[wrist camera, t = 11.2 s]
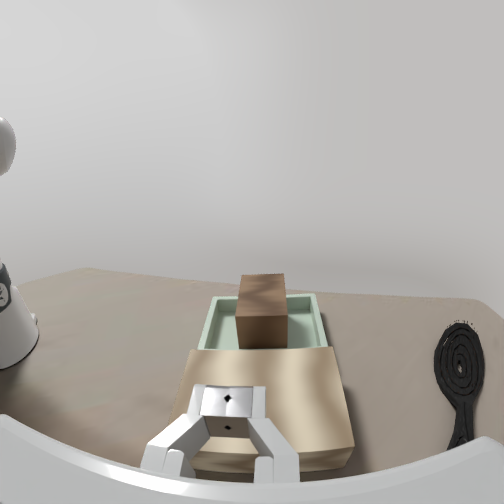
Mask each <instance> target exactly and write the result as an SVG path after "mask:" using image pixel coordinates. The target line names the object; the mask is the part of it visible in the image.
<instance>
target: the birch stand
mask: <svg viewBox="0 0 504 504" xmlns="http://www.w3.org/2000/svg"><path fill="white" fill-rule="evenodd" d="M195 384H203V385H216V386H266V418H269V419H270V420H271V421H272V423H273V424H274V425H275V426H276V428H277V429H278V430H279V432H280V433H281V434H282V435H283V437H284V438H285V439H286V440H287V442H288V443H289V444H290V445H291V446H292V448H293V449H294V450H295V451H296V452H297V454H298V455H299V472H310V471H320V470H329V469H337V468H344V466H345V464H346V463H347V461H348V459H349V457H350V455H351V453H352V451H353V449H354V447H355V444H354V439H353V434H352V429H351V424H350V419H349V414H348V410H347V405H346V400H345V396H344V392H343V387H342V383H341V379H340V374H339V370H338V366H337V362H336V358H335V354H334V350H333V346H330V347H316V348H300V349H279V350H196V349H191V350H190V353H189V357H188V360H187V363H186V366H185V369H184V373H183V376H182V379H181V382H180V386H179V389H178V392H177V396H176V399H175V402H174V406H173V409H172V412H171V416H170V419H169V423H168V426H169V425H171V424H172V423H173V422H174V421H175V420H177V419H178V418H179V417H180V416H181V415H182V414H187V410H188V406H189V402H190V398H191V394H192V390H193V387H194V385H195ZM168 426H167V427H168ZM258 457H261V456H260V455H259V453H258V452H257V450H256V448H255V447H254V445H253V444H252V442H251V440H250V439H245V438H229V437H210V439H209V440H208V441H207V442H206V443H205V445H204V446H203V447H202V448H201V449H200V450H199V451H198V452H197V453H196V455H195V456H194V457H193V458H192V459H191V460H190V461H189V463H190V465H191V466H192V468H193V469H196V470H205V471H215V472H229V473H254V472H255V459H256V458H258Z"/></svg>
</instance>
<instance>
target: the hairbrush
mask: <svg viewBox="0 0 504 504" xmlns="http://www.w3.org/2000/svg"><path fill="white" fill-rule="evenodd" d="M456 321H457V320H456ZM458 321H459V320H458ZM454 322H455V321H454ZM467 323H468V321H467ZM471 324H472V323H471ZM449 326H450V327H449V328H448V327H447V329H446V330H445V331H444V333H443V335H442V337H441V339H440V340H439V343H438V345H437V347H436V350H435V354H434V372H435V376H436V380H437V383H438V385H439V387H441V388H440V390H441V389H442V390H443V391H444V392H443V391H442V390H441V391H442V393H443V394H444V395H445V396H446V397H447V398H448V399H449V400H450V402H451V403H452V404H453V405H454V406H455V407H456V408H457V411H456V419H455V426H454V432H453V435H452V438H451V440H450V443H449V446H448V448H447V451H448V450H451V449H453V448H456V447H458V446H461V445H463V444H465V443H468V442H470V441H472V440H474V438H473V410H472V404H473V401H474V399H475V397H476V396H477V395H478V392H479V390H480V388H481V386H482V384H483V376H484V358H483V351H482V347H481V344H480V340H479V337H478V334H477V333H476V332H475V331H474V330H473V329H472V328H471V327H470V326H469V325H468V324H465V320H464V323H455V324H453V325H452V326H451V324H450V325H449ZM447 338H448V339H447ZM446 339H447V341H446ZM445 341H446V343H445V345H444V347H443V344H444V342H445ZM452 341H453V342H452ZM451 342H452V343H451ZM450 343H451V345H450ZM449 345H450V347H449ZM448 347H449V349H448ZM442 348H443V349H442ZM447 349H448V351H447ZM455 349H456V350H455ZM454 350H455V352H454ZM453 352H454V354H453ZM452 355H453V356H452ZM459 362H460V363H459ZM458 363H459V364H461V365H460V366H461V367H462V369H461V370H462V373H460V372H459V370H458V369H457V364H458ZM446 368H447V369H446ZM459 369H460V367H459ZM477 372H478V377H477ZM465 373H466V378H464V377H465ZM471 374H472V378H471ZM470 381H471V383H470ZM476 381H477V383H476ZM469 383H470V386H469V387H467V386H468V385H469ZM475 384H476V387H475ZM474 387H475V390H474ZM473 390H474V391H473ZM472 391H473V392H472ZM471 392H472V393H471ZM459 439H460V440H459ZM458 440H459V441H458Z"/></svg>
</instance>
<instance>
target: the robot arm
mask: <svg viewBox="0 0 504 504" xmlns="http://www.w3.org/2000/svg"><path fill="white" fill-rule="evenodd" d="M15 149H16V140H15V134H14V131H13V129H12V127H11V125H10V124H9V123H8V122H7V121H6V120H5V119H4V118H2V117H0V176H1V175H3V174H4V173H6V172H7V171H8V170H9V168H10V166H11V164H12V162H13V159H14V155H15ZM36 321H37V318H36V316H35V314H34V313H30V312H29V310H28V308H27V306H26V304H25V303H24V301H23V299H22V297H21V295H20V293H19V291H18V289H17V288H16V287H15V286H12V285H11V280H10V278H9V274H8V271H7V270H6V267H5V265H4V264H3V263H2V262H1V259H0V369H3V368H6V367H9V366H11V365H13V364H15V363H17V362H18V361H20V360H21V359H22V358H24V357H25V356H26V355H27V354H28V353H29V352H30V351H31V349H32V348H33V347H34V345H35V343H36V341H37V339H38V334H39V332H38V328H37V326H36ZM210 437H229V438H245V439H250V440H251V442H252V444H253V445H254V447H255V448H256V450H257V452H258V453H259V455H260V456H261V457H258V458H256V459H255V472H254V483H237V482H222V481H211V480H202V479H195V478H196V473H195V471H194V470H193V468H192V466H191V465H190V463H189V461H190V460H191V459H192V458H193V457H194V456H195V455H196V453H197V452H198V451H199V450H200V449H201V448H202V447H203V446H204V445H205V443H206V442H207V441H208V440H209V439H210ZM0 504H504V445H502V444H501V443H499V442H497V441H495V440H493V439H492V438H490V437H487V436H482V437H479V438H476V439H474V440H472V441H470V442H468V443H465V444H463V445H461V446H458V447H456V448H453V449H451V450H448V451H445V452H443V453H440V454H437V455H434V456H431V457H428V458H425V459H422V460H419V461H416V462H412V463H409V464H405V465H402V466H398V467H394V468H390V469H386V470H381V471H377V472H372V473H367V474H362V475H356V476H350V477H344V478H337V479H329V480H320V481H309V482H300V473H299V455H298V454H297V452H296V451H295V450H294V449H293V448H292V446H291V445H290V444H289V443H288V442H287V440H286V439H285V438H284V437H283V435H282V434H281V433H280V432H279V430H278V429H277V428H276V426H275V425H274V424H273V423H272V421H271V420H270V419H269V418H266V386H216V385H203V384H195V385H194V387H193V390H192V394H191V398H190V402H189V406H188V410H187V414H182V415H181V416H180V417H179V418H178V419H177V420H175V421H174V422H173V423H172V424H171V425H169V426H168V427H167V428H166V429H165V430H163V431H162V432H161V433H160V434H159V435H157V436H156V437H155V438H154V439H152V440H151V441H150V442H149V443H148V444H147V446H146V449H145V452H144V455H143V458H142V462H141V465H140V468H137V467H133V466H129V465H125V464H122V463H118V462H115V461H111V460H108V459H105V458H102V457H99V456H96V455H93V454H90V453H87V452H84V451H82V450H79V449H76V448H74V447H71V446H69V445H66V444H64V443H62V442H59V441H57V440H55V439H52V438H50V437H48V436H46V435H44V434H42V433H40V432H38V431H36V430H34V429H32V428H30V427H28V426H26V425H24V424H22V423H20V422H18V421H16V420H15V419H13V418H11V417H10V416H8V415H5V414H1V415H0Z"/></svg>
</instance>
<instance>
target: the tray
mask: <svg viewBox="0 0 504 504" xmlns="http://www.w3.org/2000/svg"><path fill="white" fill-rule="evenodd" d="M237 301H238V296H229V297H213V299H212V302H211V305H210V309H209V312H208V315H207V319H206V322H205V325H204V329H203V332H202V336H201V339H200V342H199V346H198V349H197V350H279V349H300V348H316V347H328V345H327V340H326V336H325V332H324V328H323V324H322V320H321V316H320V312H319V308H318V304H317V300H316V296H315V293H313V294H293V295H286V302H287V312H288V345H287V348H279V349H239V345H238V337H237V329H236V321H235V313H236V307H237Z"/></svg>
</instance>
